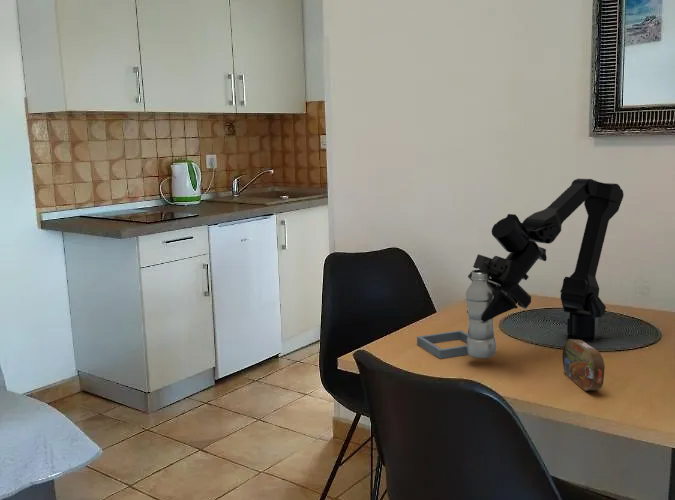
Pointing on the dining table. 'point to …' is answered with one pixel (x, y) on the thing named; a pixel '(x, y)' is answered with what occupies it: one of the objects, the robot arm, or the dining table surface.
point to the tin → (583, 364)
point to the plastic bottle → (478, 331)
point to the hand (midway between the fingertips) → (475, 317)
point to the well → (428, 341)
